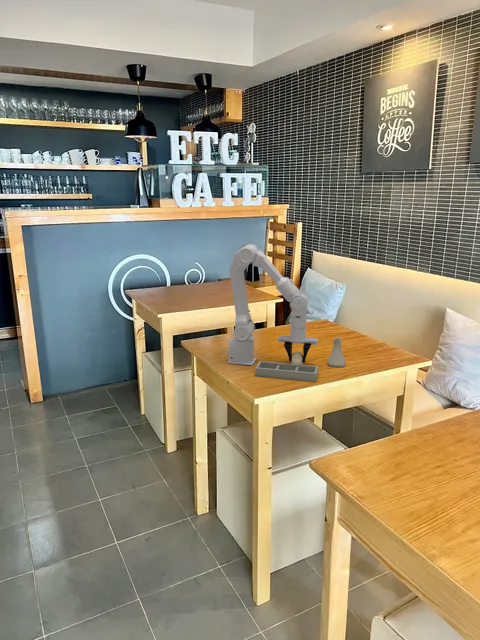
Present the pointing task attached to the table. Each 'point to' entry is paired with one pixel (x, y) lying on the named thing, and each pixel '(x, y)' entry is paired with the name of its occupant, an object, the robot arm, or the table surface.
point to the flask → (336, 355)
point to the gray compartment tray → (287, 371)
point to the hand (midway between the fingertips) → (297, 361)
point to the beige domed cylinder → (297, 358)
